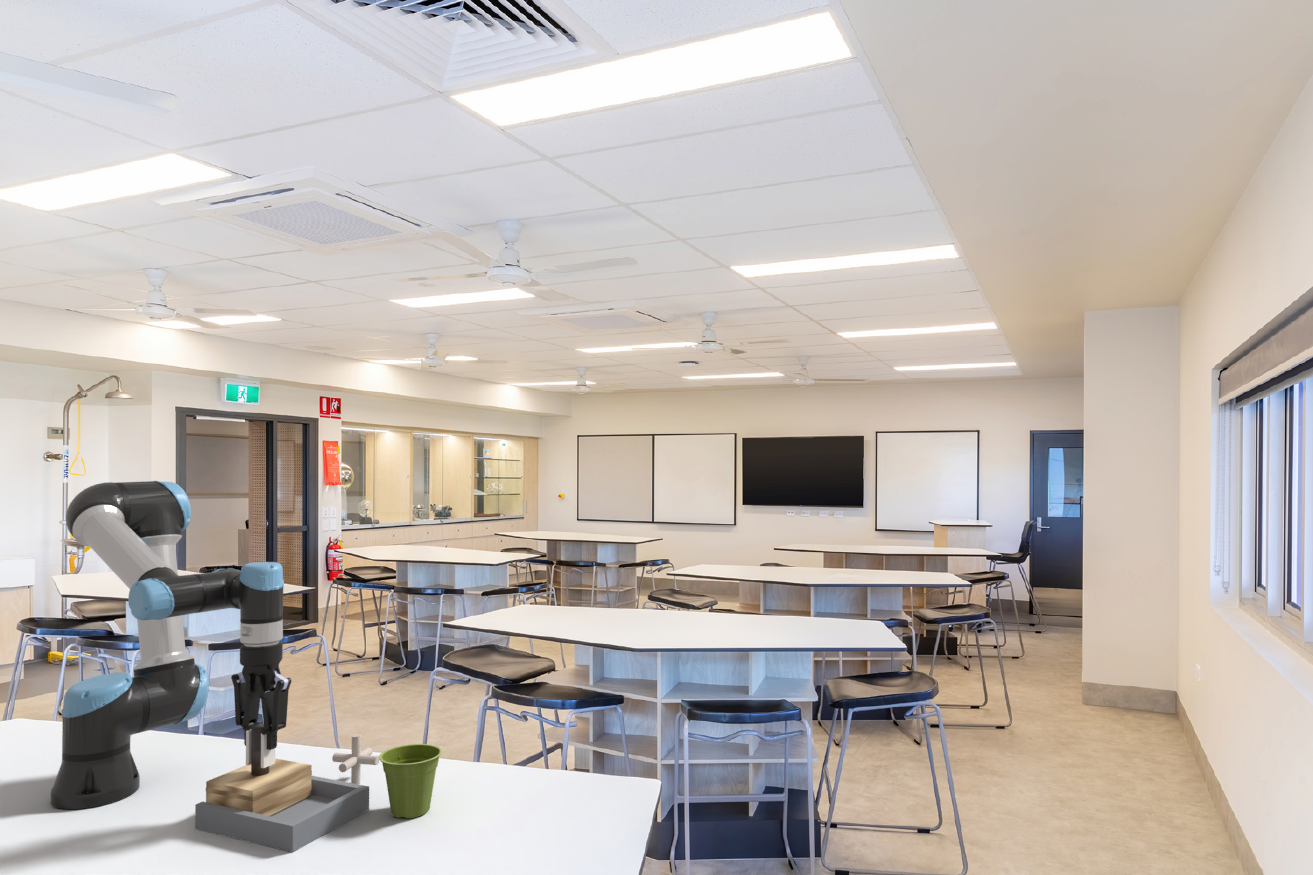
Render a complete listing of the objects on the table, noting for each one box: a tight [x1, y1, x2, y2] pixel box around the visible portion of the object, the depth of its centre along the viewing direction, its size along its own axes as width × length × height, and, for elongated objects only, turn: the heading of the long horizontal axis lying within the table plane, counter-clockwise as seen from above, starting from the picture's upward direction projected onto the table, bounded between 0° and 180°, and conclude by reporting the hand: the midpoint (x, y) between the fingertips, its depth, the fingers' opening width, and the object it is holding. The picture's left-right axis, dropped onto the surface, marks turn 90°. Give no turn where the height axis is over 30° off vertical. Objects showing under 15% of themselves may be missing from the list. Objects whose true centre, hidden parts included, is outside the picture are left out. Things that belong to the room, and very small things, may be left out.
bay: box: [194, 775, 370, 853], centre depth 158 cm, size 24×19×4 cm
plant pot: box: [378, 743, 443, 819], centre depth 161 cm, size 12×12×11 cm
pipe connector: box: [331, 733, 380, 785], centre depth 176 cm, size 10×10×10 cm
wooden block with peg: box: [205, 723, 313, 816], centre depth 160 cm, size 12×14×15 cm
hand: (260, 763), depth 161 cm, fingers closed on wooden block with peg, 3 cm apart
